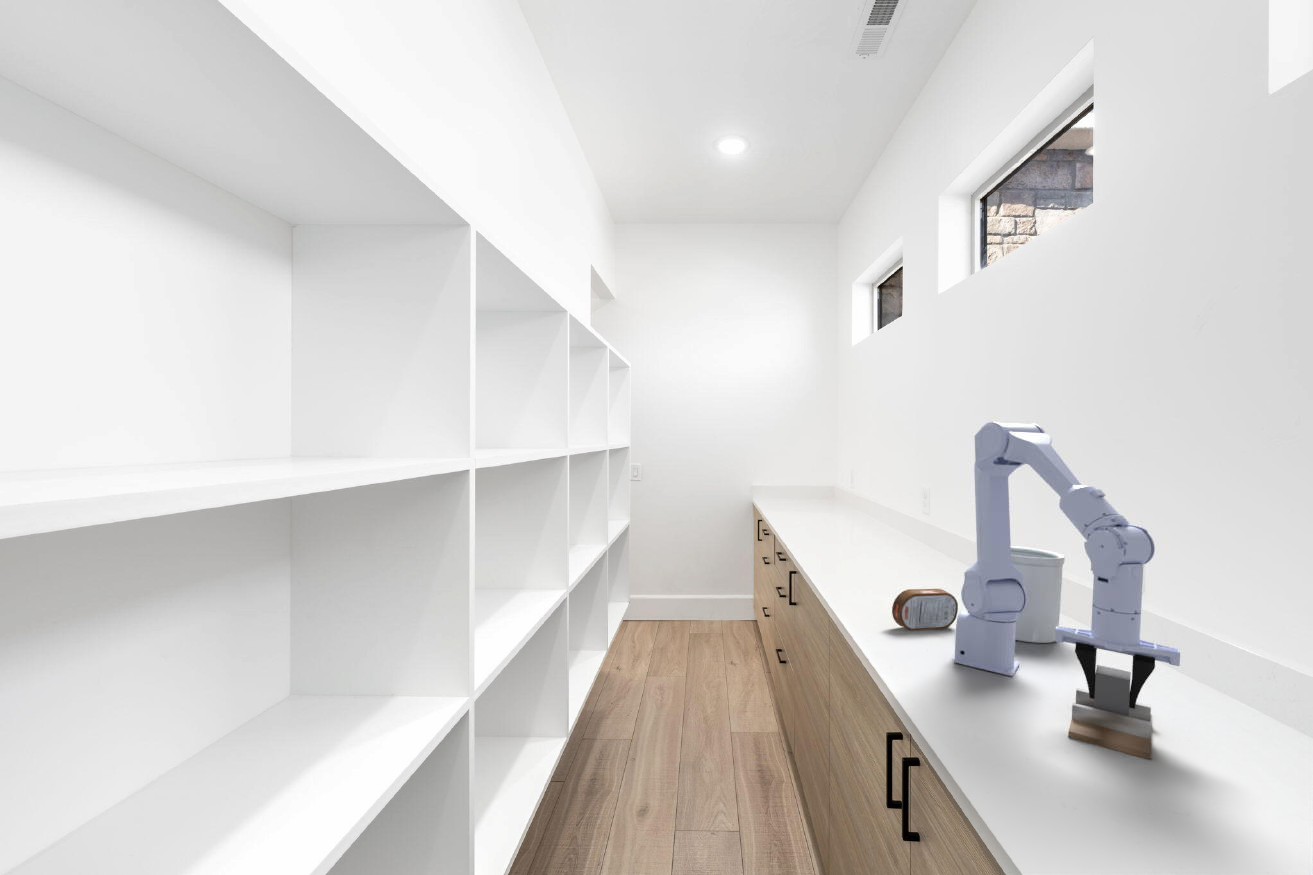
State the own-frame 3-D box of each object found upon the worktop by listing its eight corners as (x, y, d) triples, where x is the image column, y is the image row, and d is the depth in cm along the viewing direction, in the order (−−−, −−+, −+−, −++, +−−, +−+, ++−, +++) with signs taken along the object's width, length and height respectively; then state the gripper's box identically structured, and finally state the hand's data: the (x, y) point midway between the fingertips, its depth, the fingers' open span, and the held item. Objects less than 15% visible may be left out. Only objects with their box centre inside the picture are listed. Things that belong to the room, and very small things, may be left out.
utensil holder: (985, 617, 143) (989, 541, 142) (1062, 631, 134) (1066, 551, 134) (974, 633, 131) (978, 550, 131) (1058, 650, 122) (1062, 561, 122)
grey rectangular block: (1093, 713, 90) (1095, 672, 90) (1095, 704, 93) (1097, 664, 93) (1128, 722, 88) (1130, 680, 87) (1128, 712, 91) (1130, 672, 91)
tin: (949, 624, 136) (951, 586, 136) (959, 629, 133) (961, 590, 133) (890, 628, 132) (891, 588, 132) (899, 633, 129) (901, 592, 129)
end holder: (1068, 736, 86) (1069, 716, 86) (1078, 695, 100) (1079, 678, 100) (1151, 759, 81) (1152, 738, 81) (1149, 712, 95) (1150, 694, 95)
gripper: (1054, 603, 92) (1050, 695, 92) (1182, 625, 83) (1178, 726, 83) (1059, 594, 97) (1055, 680, 97) (1180, 614, 88) (1175, 709, 88)
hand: (1111, 701), depth 90 cm, fingers closed on grey rectangular block, 4 cm apart
